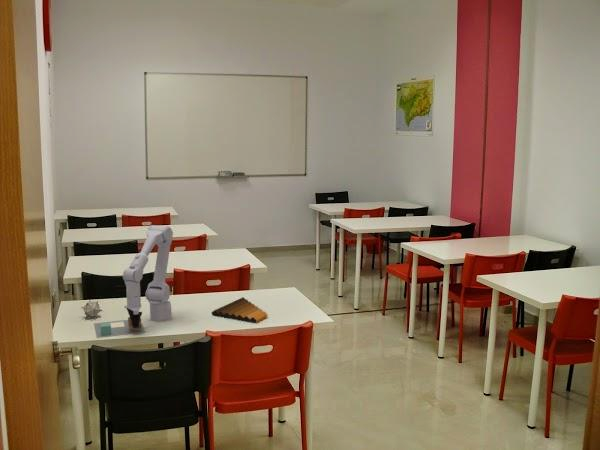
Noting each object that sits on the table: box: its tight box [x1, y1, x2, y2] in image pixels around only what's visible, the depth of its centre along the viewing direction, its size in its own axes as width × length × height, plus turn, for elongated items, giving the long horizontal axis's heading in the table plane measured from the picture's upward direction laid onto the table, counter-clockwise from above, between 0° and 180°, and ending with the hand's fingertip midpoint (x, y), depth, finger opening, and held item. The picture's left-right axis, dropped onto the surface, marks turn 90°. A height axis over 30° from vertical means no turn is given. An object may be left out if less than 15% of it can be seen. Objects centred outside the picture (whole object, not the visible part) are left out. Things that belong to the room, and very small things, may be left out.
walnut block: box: [127, 316, 142, 330], centre depth 262 cm, size 5×5×4 cm
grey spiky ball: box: [81, 299, 103, 320], centre depth 281 cm, size 9×8×10 cm
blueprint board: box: [93, 319, 146, 339], centre depth 265 cm, size 20×20×1 cm
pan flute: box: [211, 297, 268, 324], centre depth 291 cm, size 25×3×25 cm
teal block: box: [100, 323, 111, 336], centre depth 257 cm, size 4×4×4 cm
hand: (134, 325), depth 262 cm, fingers closed on walnut block, 5 cm apart
